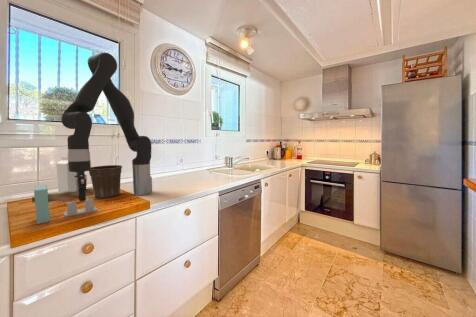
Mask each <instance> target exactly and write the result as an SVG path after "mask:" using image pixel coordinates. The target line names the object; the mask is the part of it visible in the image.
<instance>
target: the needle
mask: <svg viewBox="0 0 476 317" xmlns="http://www.w3.org/2000/svg"><path fill="white" fill-rule="evenodd" d="M86 189H87V190H86V192H85V194H86V197H92V196H93V197H94V191H93V187H91V188H90V187H89V188H86ZM78 198H79V193H78V190H73V191H65V192H59V191H58V192H50V193H48V202H49V203H51V202H59V201H65V200H73V199H78ZM31 202H32V203H35V196H34V197H31Z"/></svg>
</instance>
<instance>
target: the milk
mask: <svg viewBox="0 0 476 317" xmlns="http://www.w3.org/2000/svg"><path fill="white" fill-rule="evenodd" d="M55 165H56V173H57V174H56V175H57V188H58V192H65V191H73V190H77V188H76V185H75V179H74V176H75V175H76V172H69V168H68V156H61V160H59V161H58V162H57V163H56V164H55Z"/></svg>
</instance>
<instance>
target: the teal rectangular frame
mask: <svg viewBox="0 0 476 317" xmlns="http://www.w3.org/2000/svg"><path fill="white" fill-rule="evenodd" d="M48 191H49V190H48V185H47V184H46V185H38V186H37V185H35V187H34V189H33V194H34V197H35V202H34V203H35V204H34V206H35V215H36V216H35V218H36V224H37V225H39V224H44V223H50V222H51V216H50V204H49V203H50V202H48V194H49V193H48Z"/></svg>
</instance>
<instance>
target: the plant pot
mask: <svg viewBox="0 0 476 317" xmlns="http://www.w3.org/2000/svg"><path fill="white" fill-rule="evenodd" d="M122 168H123V166H122V165H118V164H115V165H113V164H112V165H110V164H108V165H98V166H91V170H90V171H88V173H89V176H90V180H91V184H92V188H93V192H94V195H93V197H94V198H96V199H106V198H107V199H108V198H111V197H116V196H119V195H120V194H121V179H122V178H121V177H122V176H121V175H122Z"/></svg>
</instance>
